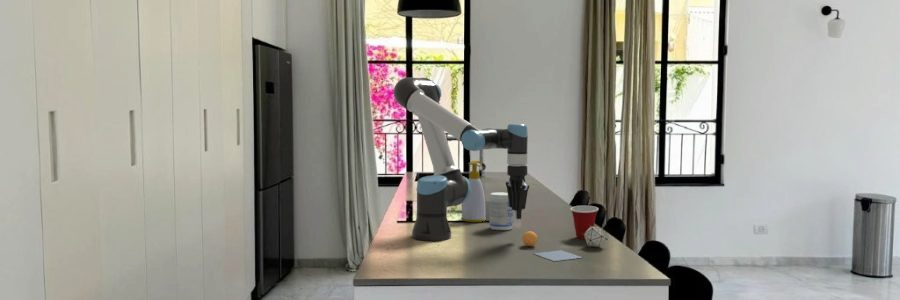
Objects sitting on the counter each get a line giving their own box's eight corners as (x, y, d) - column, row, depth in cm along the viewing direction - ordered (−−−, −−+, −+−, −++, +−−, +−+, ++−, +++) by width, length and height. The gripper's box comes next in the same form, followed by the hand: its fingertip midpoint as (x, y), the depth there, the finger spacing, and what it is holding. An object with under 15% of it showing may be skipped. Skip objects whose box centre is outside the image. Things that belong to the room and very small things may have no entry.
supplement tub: (512, 231, 277) (513, 195, 276) (489, 230, 277) (489, 195, 276) (511, 226, 286) (512, 192, 285) (489, 226, 287) (490, 191, 286)
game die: (594, 258, 247) (588, 239, 242) (580, 245, 254) (575, 227, 248) (614, 245, 249) (609, 226, 243) (600, 233, 256) (594, 214, 250)
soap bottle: (491, 219, 302) (492, 161, 300) (478, 223, 292) (479, 163, 290) (469, 217, 308) (470, 159, 306) (456, 220, 298) (456, 161, 296)
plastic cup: (564, 237, 265) (564, 207, 264) (579, 233, 273) (579, 204, 272) (588, 242, 258) (589, 210, 257) (602, 238, 266) (603, 207, 265)
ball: (519, 245, 250) (519, 230, 250) (531, 244, 253) (532, 229, 252) (527, 248, 245) (528, 233, 245) (540, 247, 248) (540, 232, 248)
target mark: (533, 254, 237) (533, 253, 237) (561, 250, 242) (561, 250, 242) (553, 261, 226) (553, 260, 226) (582, 258, 232) (582, 257, 232)
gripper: (535, 165, 251) (535, 229, 253) (516, 163, 263) (515, 223, 264) (518, 166, 248) (518, 230, 249) (499, 164, 259) (499, 225, 261)
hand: (516, 227), depth 257 cm, fingers closed
